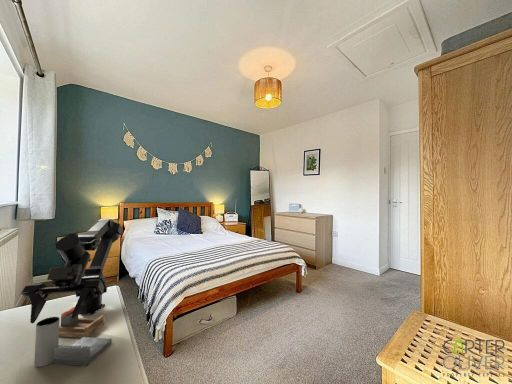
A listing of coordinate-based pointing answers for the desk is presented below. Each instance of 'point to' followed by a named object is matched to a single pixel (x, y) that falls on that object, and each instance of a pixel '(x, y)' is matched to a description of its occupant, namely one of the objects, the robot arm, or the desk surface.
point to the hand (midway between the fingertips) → (52, 320)
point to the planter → (46, 340)
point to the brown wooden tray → (82, 328)
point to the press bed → (80, 351)
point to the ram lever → (68, 318)
